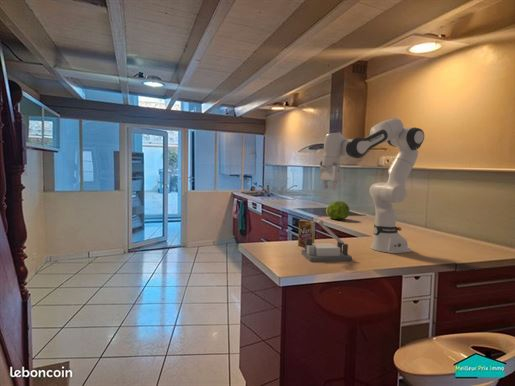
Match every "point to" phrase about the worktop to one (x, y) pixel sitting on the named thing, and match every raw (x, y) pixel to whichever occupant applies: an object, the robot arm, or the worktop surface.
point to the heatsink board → (327, 258)
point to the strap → (329, 231)
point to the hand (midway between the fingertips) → (329, 189)
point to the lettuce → (338, 210)
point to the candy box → (306, 231)
